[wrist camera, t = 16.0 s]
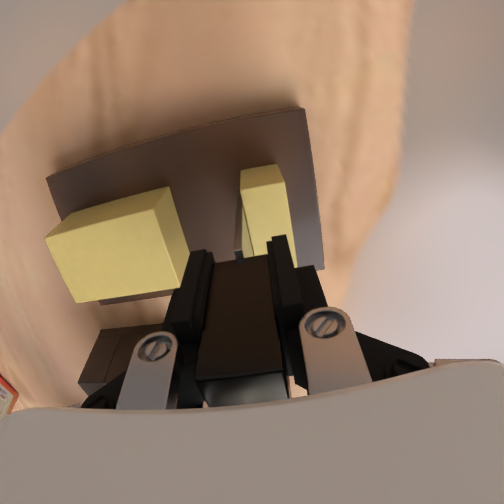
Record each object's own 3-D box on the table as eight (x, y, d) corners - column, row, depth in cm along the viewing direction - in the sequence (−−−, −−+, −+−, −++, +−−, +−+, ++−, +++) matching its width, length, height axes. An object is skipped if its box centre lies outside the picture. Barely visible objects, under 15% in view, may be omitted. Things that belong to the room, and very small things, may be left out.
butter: (96, 272, 20) (75, 303, 17) (70, 213, 18) (43, 238, 15) (190, 254, 19) (180, 287, 16) (169, 185, 17) (153, 208, 14)
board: (107, 293, 22) (100, 305, 21) (56, 171, 18) (45, 177, 16) (320, 257, 21) (324, 269, 20) (300, 106, 16) (304, 108, 15)
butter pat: (255, 242, 19) (258, 275, 16) (240, 170, 17) (239, 189, 14) (289, 236, 19) (297, 268, 16) (277, 163, 17) (284, 181, 14)
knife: (233, 239, 18) (223, 436, 8) (221, 190, 17) (188, 372, 6) (268, 233, 18) (296, 428, 8) (259, 183, 17) (282, 360, 6)
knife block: (142, 393, 29) (130, 441, 23) (100, 329, 24) (77, 382, 19) (206, 389, 28) (202, 442, 23) (174, 321, 24) (159, 381, 19)
